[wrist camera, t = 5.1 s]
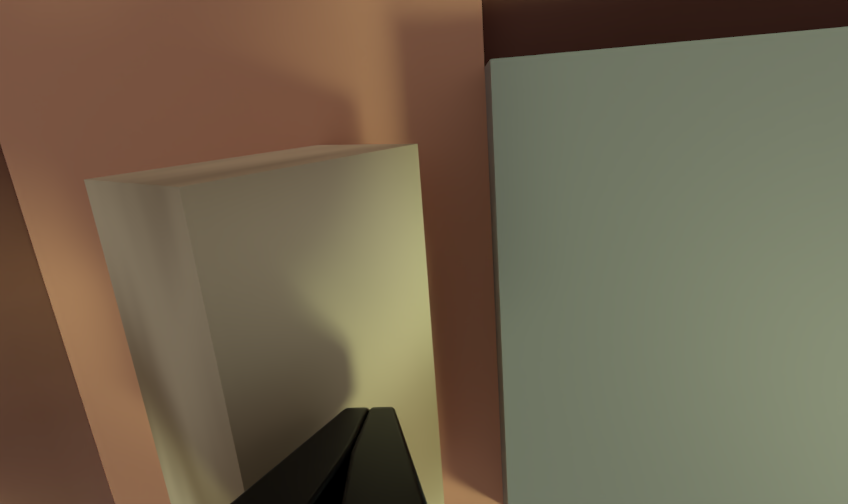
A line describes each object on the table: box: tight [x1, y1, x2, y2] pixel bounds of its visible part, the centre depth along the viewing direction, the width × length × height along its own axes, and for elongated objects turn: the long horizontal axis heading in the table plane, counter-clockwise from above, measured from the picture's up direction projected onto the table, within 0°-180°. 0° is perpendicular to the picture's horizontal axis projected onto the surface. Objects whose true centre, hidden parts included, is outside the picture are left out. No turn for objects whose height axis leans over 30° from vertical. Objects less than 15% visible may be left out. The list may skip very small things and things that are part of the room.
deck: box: [485, 27, 848, 504], centre depth 12 cm, size 12×10×3 cm
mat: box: [0, 0, 503, 504], centre depth 14 cm, size 22×12×1 cm, turn 5°
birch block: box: [84, 144, 444, 504], centre depth 10 cm, size 9×5×3 cm
